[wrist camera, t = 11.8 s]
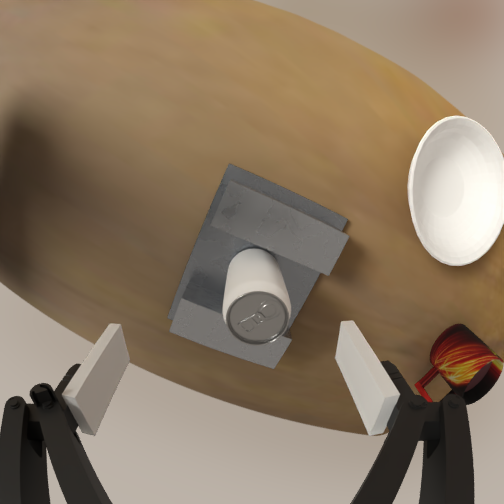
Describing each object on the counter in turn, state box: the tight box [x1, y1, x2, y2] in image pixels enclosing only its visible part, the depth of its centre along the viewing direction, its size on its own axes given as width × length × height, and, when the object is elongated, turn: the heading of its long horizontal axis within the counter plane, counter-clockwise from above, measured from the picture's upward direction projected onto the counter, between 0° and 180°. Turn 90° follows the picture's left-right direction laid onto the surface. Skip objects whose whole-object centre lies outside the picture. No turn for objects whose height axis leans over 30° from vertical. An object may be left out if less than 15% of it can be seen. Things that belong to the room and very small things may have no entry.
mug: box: [415, 324, 503, 405], centre depth 38 cm, size 10×14×12 cm
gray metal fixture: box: [167, 164, 349, 369], centre depth 35 cm, size 16×22×6 cm
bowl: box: [408, 116, 504, 266], centre depth 32 cm, size 20×20×6 cm
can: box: [223, 249, 291, 346], centre depth 31 cm, size 6×6×12 cm
